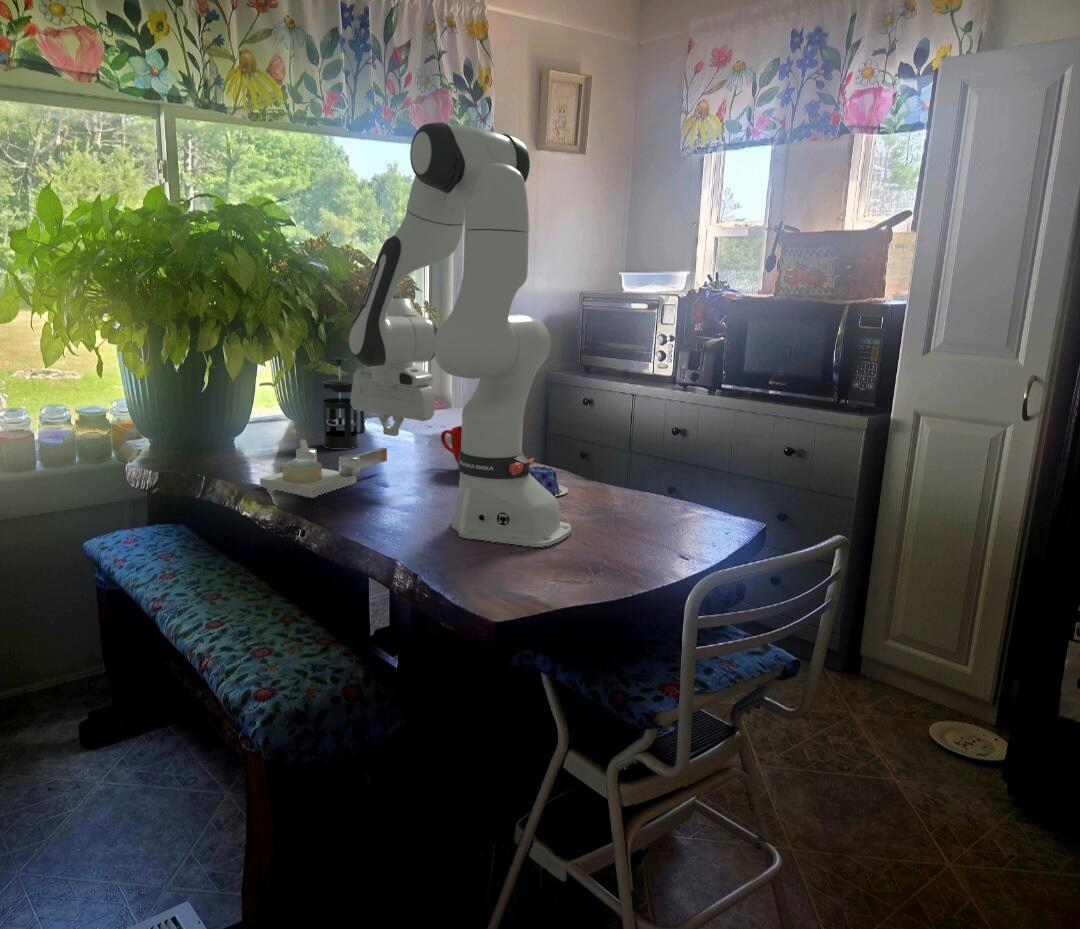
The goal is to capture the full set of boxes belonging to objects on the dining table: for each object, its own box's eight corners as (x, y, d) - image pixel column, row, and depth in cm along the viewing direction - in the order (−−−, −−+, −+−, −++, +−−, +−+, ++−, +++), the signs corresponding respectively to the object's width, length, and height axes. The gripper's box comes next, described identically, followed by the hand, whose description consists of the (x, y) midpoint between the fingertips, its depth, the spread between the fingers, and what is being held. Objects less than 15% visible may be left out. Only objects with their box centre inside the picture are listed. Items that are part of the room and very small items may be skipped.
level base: (356, 483, 176) (356, 455, 175) (312, 497, 164) (311, 467, 162) (306, 474, 182) (305, 446, 181) (260, 487, 170) (259, 458, 168)
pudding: (540, 503, 169) (541, 478, 167) (501, 490, 177) (502, 467, 176) (579, 494, 177) (580, 470, 176) (541, 482, 185) (542, 460, 184)
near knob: (351, 477, 172) (350, 460, 172) (334, 474, 174) (334, 457, 173) (392, 464, 185) (392, 448, 184) (377, 461, 187) (376, 446, 186)
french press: (329, 451, 205) (327, 360, 200) (313, 444, 212) (311, 356, 207) (371, 446, 212) (370, 359, 207) (354, 440, 219) (353, 355, 214)
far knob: (317, 467, 179) (317, 451, 178) (297, 468, 178) (296, 452, 177) (312, 453, 192) (312, 438, 192) (293, 453, 191) (293, 438, 190)
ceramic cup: (456, 460, 202) (457, 420, 199) (515, 470, 194) (516, 429, 192) (425, 470, 190) (426, 428, 188) (486, 481, 183) (487, 438, 181)
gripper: (344, 368, 177) (344, 430, 180) (422, 379, 168) (420, 444, 172) (362, 366, 182) (362, 426, 186) (439, 376, 174) (437, 439, 177)
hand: (391, 435), depth 179 cm, fingers closed
